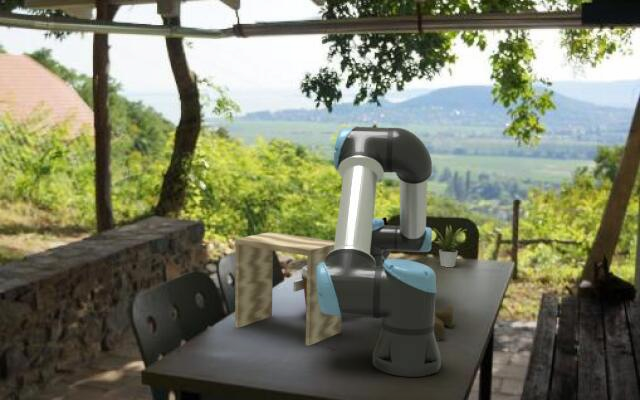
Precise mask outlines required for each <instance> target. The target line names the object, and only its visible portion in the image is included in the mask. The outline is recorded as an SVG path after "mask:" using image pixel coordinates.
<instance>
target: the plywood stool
mask: <svg viewBox="0 0 640 400" xmlns="http://www.w3.org/2000/svg"><path fill="white" fill-rule="evenodd" d="M334 243H335V240H328V239H323V238H321V239H320V238H314V237H307V236H301V235H300V236H299V235H293V234H285V233H280V232H271V231H270V232H269V231H268V232H264V233H259V234H254V235H253V234H252V235H249V236H243V237H242V236H241V237H237V238H235V269H234V270H235V275H234V277H235V283H234V284H235V286H234V290H235V292H234V293H235V294H234V295H235V296H234V298H235V299H234V301H235V303H234V306H235V307H234V309H235V310H234V311H235V312H234V318H235V319H234V327H235V328H237V329H239V328H242V327H246V326H249V325H250V324H253V323H256V322H259V321H262V320H265V319H268V318H271V317H273V272H274V270H273V269H274V268H273V266H274V265H273V262H274V261H273V260H274V251H275V252H281V253H288V254H294V255H300V256H306V257H307V258H306V261H307V262H306V264H307V265H306V266H307V302H306V304H305V313H306V314H305V315H306V316H305V346H309V347H310V346H311V345H314V344H316V343H320V342H322V341H323V340H326V339H329V338H331V337H333V336H335V335H338V334H340V333H342V316H341V317H338V316H336V315H327V314H324V313H323V312H322V311H321V310H320V308H319V303H318V294H317V265H318V263H322V262H324V263H325V261H326V256H327V254H328V253H329V252H331V251H332V250H334Z"/></svg>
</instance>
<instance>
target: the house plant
mask: <svg viewBox="0 0 640 400" xmlns="http://www.w3.org/2000/svg"><path fill="white" fill-rule="evenodd" d="M445 226H446V228H445V240H444V237H443V235H442V234H441V233H440V232H439V231H438V230H437V229H436V228H434V230H435V231H436V232H437V233H438V235H439V237H440V238H441V239H440V238H439V237H437V241H435V244H438V245H439V246H440V249H439V250H438V254H439V255H438V256H439V261H440V262H439V263H440V267H441V266H445V267H453V266H456V262H457V257H458V253H459V251H458V250H457V249H456V248H457V247H458V246H459V245H460V244H462V243H463V244H465V240H463V241H460V243H459V241H457V240H458V239H459V238H460V237H461V236H462V235H463V233H462V232H464V231H466V229H463V227H461V228H459V229H456V231H455V232H454V233H453V228H452V225H449V227H448V225H447V224H445ZM462 229H463V230H462ZM461 233H462V234H461ZM458 235H459V236H458ZM458 243H459V244H458ZM453 248H454V249H453Z"/></svg>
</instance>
